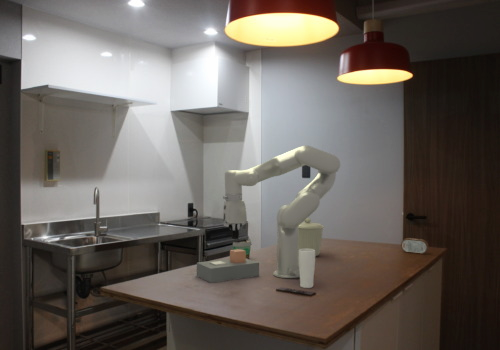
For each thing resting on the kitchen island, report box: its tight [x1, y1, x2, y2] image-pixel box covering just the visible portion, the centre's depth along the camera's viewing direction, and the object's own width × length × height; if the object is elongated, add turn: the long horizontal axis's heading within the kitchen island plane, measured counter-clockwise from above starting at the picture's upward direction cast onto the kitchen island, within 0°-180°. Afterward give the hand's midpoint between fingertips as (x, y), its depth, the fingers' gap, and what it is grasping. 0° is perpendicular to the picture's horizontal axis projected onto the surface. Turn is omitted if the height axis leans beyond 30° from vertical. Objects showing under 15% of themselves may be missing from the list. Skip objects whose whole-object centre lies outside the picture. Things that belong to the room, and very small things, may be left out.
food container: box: [232, 239, 252, 259], centre depth 233 cm, size 12×6×10 cm, turn 143°
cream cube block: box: [210, 261, 226, 266], centre depth 196 cm, size 5×5×6 cm
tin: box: [400, 237, 430, 255], centre depth 257 cm, size 15×3×8 cm, turn 58°
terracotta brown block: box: [229, 249, 246, 263], centre depth 201 cm, size 5×5×6 cm
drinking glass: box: [298, 249, 316, 289], centre depth 181 cm, size 7×7×15 cm
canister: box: [298, 217, 325, 257], centre depth 247 cm, size 18×18×21 cm
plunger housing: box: [196, 258, 260, 284], centre depth 199 cm, size 14×24×6 cm, turn 121°
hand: (235, 238), depth 200 cm, fingers closed
